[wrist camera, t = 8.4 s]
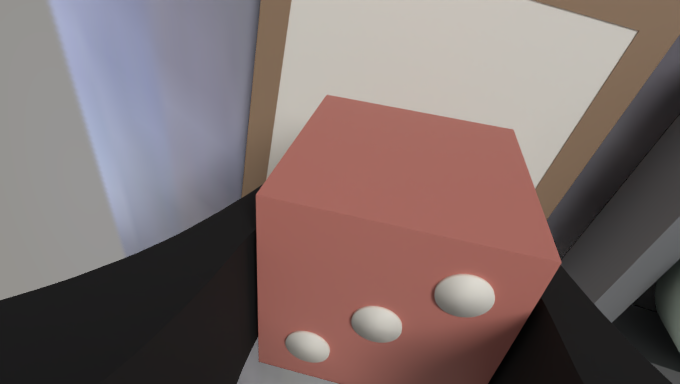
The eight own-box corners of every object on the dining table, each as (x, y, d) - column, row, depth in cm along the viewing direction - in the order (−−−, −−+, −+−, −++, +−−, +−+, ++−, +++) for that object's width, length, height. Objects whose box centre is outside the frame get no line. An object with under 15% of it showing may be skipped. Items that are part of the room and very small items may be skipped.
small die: (513, 129, 9) (562, 266, 5) (458, 265, 12) (466, 422, 8) (326, 94, 10) (254, 197, 6) (313, 232, 12) (257, 364, 8)
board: (686, -2, 11) (702, 2, 10) (493, 278, 18) (495, 291, 17) (282, -117, 12) (272, -119, 11) (247, 197, 18) (240, 208, 18)
